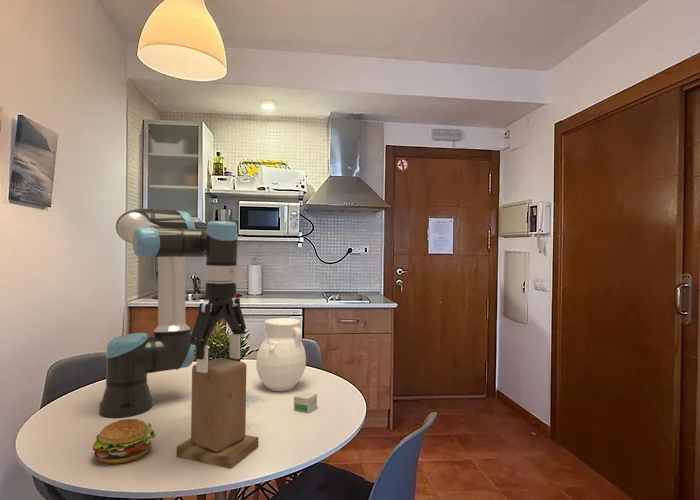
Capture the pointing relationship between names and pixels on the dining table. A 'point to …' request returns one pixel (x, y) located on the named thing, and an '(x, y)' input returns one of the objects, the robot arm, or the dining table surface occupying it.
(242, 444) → the board
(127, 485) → the dining table surface
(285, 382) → the pitcher
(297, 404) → the small box
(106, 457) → the food
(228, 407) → the wooden block
